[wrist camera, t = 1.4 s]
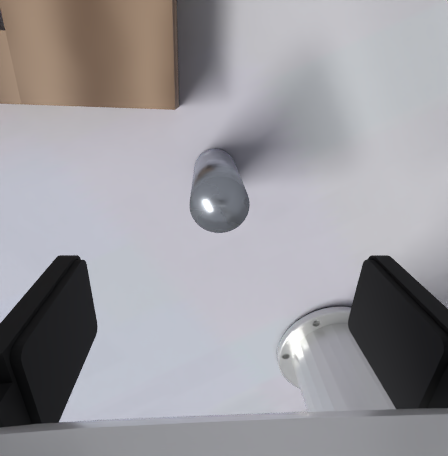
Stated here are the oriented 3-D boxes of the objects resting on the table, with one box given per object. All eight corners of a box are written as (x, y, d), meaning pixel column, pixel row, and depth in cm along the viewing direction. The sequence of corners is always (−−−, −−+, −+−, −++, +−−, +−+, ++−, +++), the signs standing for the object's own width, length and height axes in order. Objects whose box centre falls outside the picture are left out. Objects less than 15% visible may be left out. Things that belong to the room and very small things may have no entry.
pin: (236, 149, 26) (251, 177, 18) (234, 189, 28) (247, 233, 19) (194, 148, 26) (189, 176, 18) (194, 189, 27) (190, 232, 19)
